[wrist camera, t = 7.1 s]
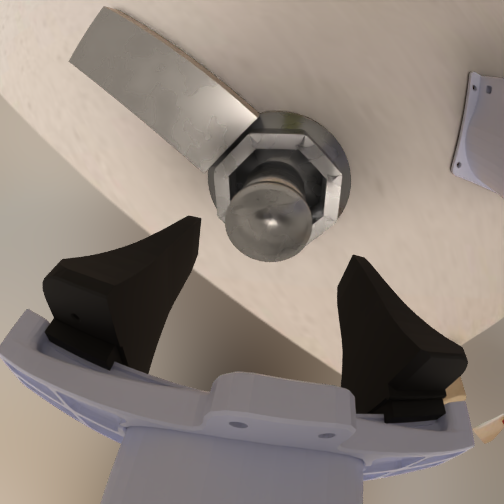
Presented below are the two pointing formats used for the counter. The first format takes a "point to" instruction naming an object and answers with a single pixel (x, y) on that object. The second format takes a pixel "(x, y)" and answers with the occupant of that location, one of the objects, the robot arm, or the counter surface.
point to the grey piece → (211, 117)
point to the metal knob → (270, 214)
